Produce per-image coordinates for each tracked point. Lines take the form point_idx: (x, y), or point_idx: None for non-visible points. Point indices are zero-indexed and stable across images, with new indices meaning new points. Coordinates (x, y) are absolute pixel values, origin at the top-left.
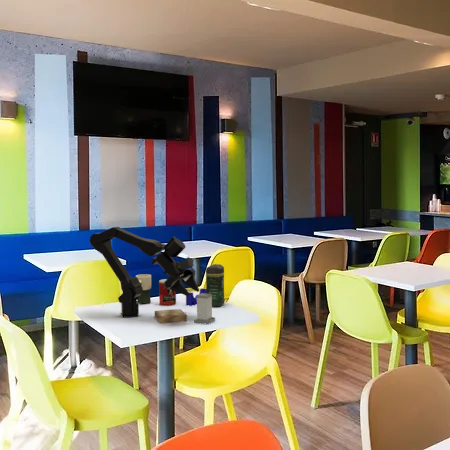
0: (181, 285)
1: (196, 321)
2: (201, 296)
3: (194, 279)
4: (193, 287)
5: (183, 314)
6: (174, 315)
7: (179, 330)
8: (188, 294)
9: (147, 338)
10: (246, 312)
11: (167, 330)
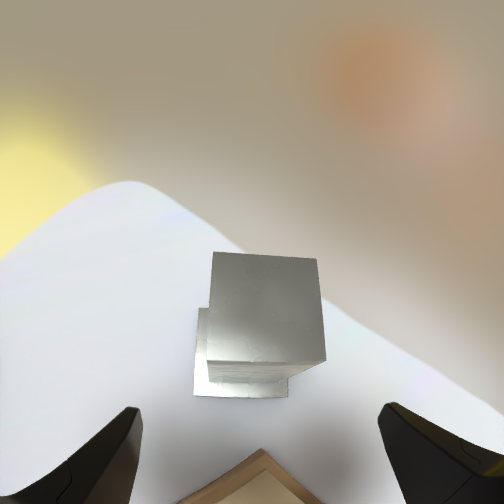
0: (491, 452)
1: (286, 381)
2: (319, 314)
3: (29, 493)
4: (125, 482)
5: (268, 471)
6: (306, 502)
7: (412, 386)
8: (397, 409)
9: (494, 411)
10: (49, 224)
11: None
